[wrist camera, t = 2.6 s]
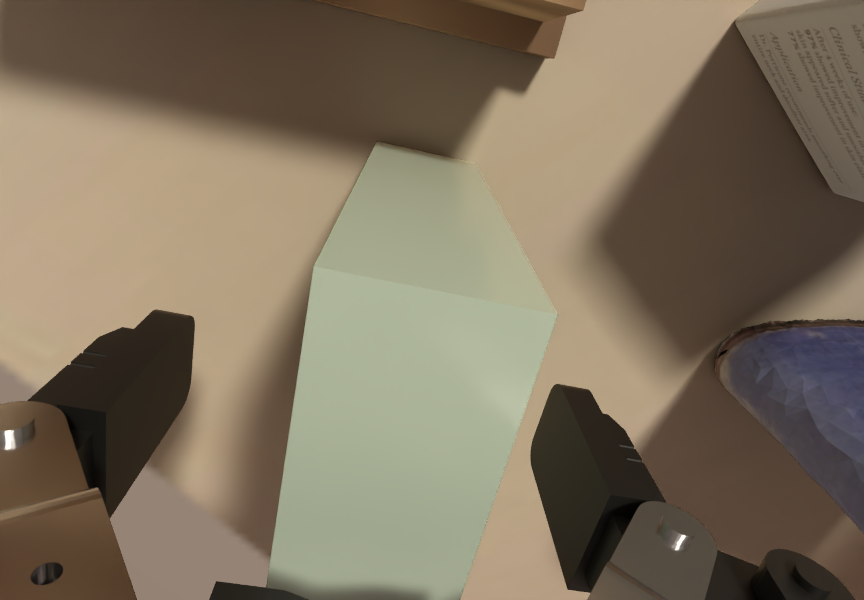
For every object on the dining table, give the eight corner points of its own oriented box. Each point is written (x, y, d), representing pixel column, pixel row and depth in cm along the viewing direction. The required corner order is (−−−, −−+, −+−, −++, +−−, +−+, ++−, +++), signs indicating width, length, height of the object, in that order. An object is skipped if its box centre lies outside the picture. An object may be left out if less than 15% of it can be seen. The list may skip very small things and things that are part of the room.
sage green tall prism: (475, 163, 16) (557, 314, 6) (410, 424, 19) (402, 767, 10) (376, 141, 15) (313, 266, 6) (328, 410, 19) (242, 750, 10)
